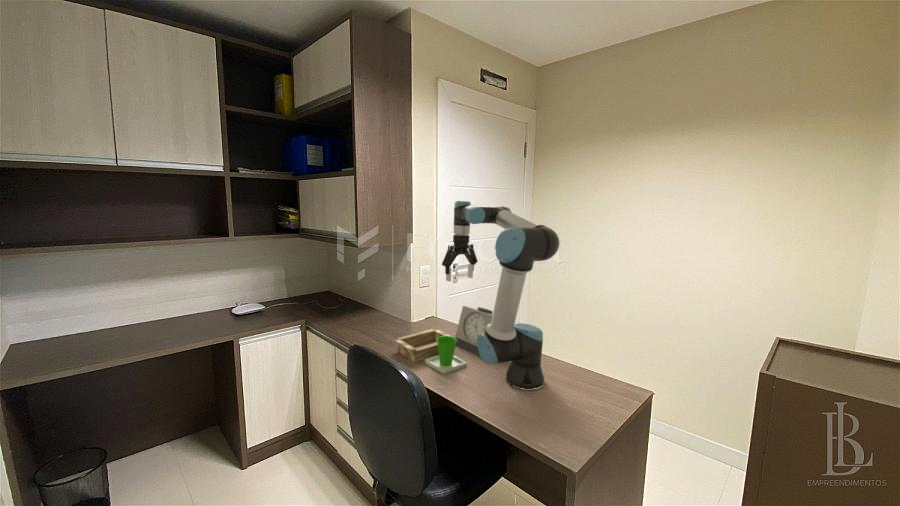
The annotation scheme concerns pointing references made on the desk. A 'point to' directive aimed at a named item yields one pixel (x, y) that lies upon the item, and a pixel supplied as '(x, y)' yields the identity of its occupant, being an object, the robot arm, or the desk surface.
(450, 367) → the tray
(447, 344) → the cup
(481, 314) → the alarm clock
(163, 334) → the desk surface
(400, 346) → the wooden box
